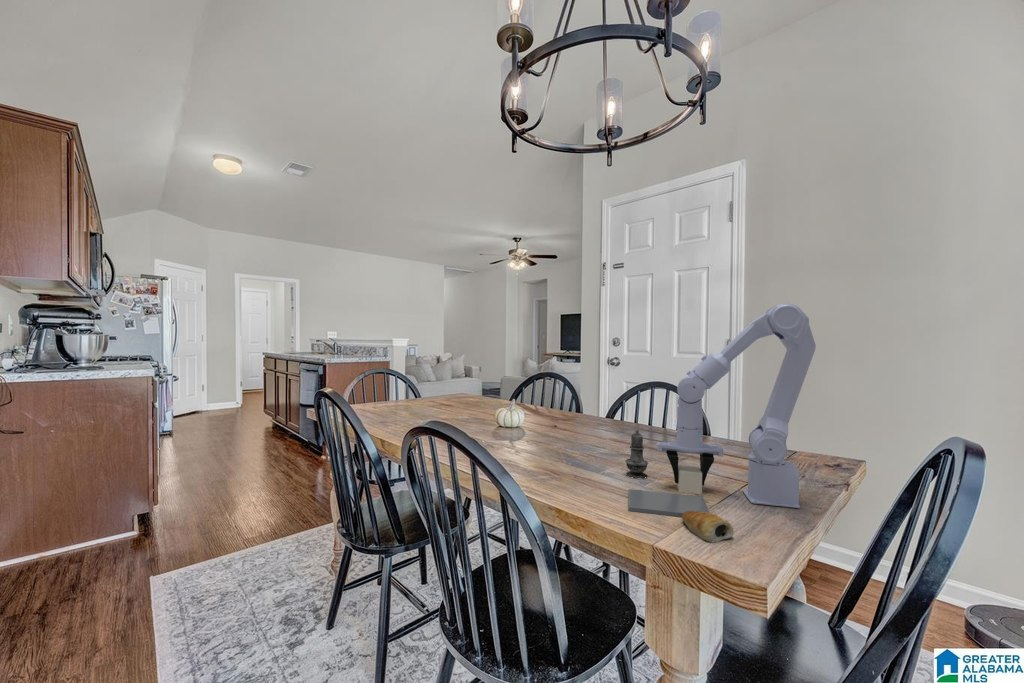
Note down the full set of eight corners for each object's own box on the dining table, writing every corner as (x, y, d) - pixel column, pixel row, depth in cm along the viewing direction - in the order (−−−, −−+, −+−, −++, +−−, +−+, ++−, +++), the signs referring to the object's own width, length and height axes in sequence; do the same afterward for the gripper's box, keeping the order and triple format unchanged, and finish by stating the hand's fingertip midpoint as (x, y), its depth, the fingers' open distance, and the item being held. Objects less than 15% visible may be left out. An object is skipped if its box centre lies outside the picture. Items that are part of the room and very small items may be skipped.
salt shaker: (649, 479, 109) (650, 433, 109) (625, 478, 110) (626, 431, 110) (646, 472, 115) (647, 428, 114) (624, 471, 116) (624, 427, 116)
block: (698, 487, 104) (698, 466, 104) (701, 494, 99) (702, 473, 99) (676, 485, 105) (676, 465, 105) (678, 492, 101) (679, 471, 101)
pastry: (672, 523, 84) (673, 504, 84) (699, 519, 86) (700, 500, 86) (708, 545, 75) (709, 523, 75) (738, 540, 77) (738, 519, 77)
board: (702, 499, 96) (702, 496, 96) (711, 520, 85) (711, 516, 85) (628, 492, 100) (628, 489, 100) (628, 510, 89) (628, 507, 89)
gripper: (719, 425, 104) (718, 480, 104) (656, 421, 108) (656, 475, 108) (725, 431, 97) (724, 490, 97) (658, 427, 101) (658, 484, 101)
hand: (689, 483), depth 102 cm, fingers open, 5 cm apart
